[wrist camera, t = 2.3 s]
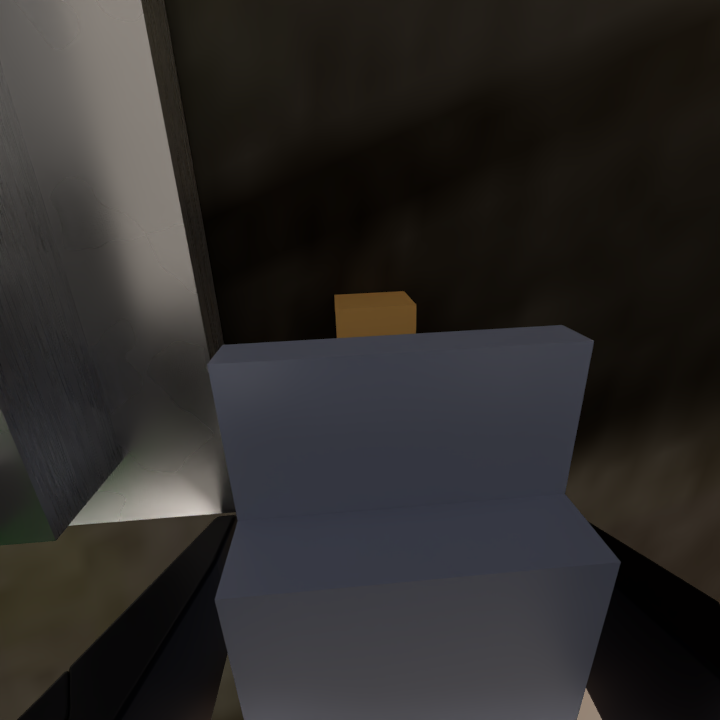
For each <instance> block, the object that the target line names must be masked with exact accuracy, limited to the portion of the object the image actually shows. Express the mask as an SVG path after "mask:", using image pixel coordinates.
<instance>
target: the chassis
mask: <svg viewBox="0 0 720 720" xmlns="http://www.w3.org/2000/svg"><path fill="white" fill-rule="evenodd" d="M222 345H224V341H223V335H222V329H221V323H220V318H219V312H218V306H217V300H216V295H215V289H214V283H213V277H212V272H211V266H210V260H209V254H208V249H207V243H206V237H205V231H204V226H203V220H202V214H201V208H200V203H199V197H198V191H197V185H196V180H195V174H194V168H193V162H192V157H191V151H190V145H189V139H188V134H187V128H186V122H185V117H184V111H183V105H182V99H181V94H180V88H179V82H178V76H177V71H176V65H175V59H174V53H173V48H172V42H171V36H170V30H169V25H168V19H167V13H166V7H165V2H164V0H0V545H9V544H21V543H33V542H45V541H56V540H57V539H58V537H59V536H60V535H61V534H62V533H63V531H64V530H65V529H66V528H67V527H68V526H70V525H82V524H94V523H107V522H119V521H131V520H143V519H156V518H168V517H180V516H193V515H205V514H217V513H229V512H236V509H235V504H234V499H233V494H232V489H231V484H230V479H229V474H228V469H227V464H226V458H225V453H224V448H223V443H222V438H221V433H220V428H219V423H218V418H217V412H216V407H215V402H214V397H213V392H212V387H211V382H210V377H209V372H208V366H207V364H208V363H209V362H210V360H211V359H212V358H213V356H214V355H215V354H216V353H217V351H218V350H219V349H220V347H221V346H222Z"/></svg>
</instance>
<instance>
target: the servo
mask: <svg viewBox="0 0 720 720" xmlns="http://www.w3.org/2000/svg"><path fill="white" fill-rule="evenodd" d="M334 298H335V316H336V332H337V338H332V339H315V340H298V341H281V342H264V343H247V344H230V345H222V346H221V347H220V349H219V350H218V351H217V353H216V354H215V355H214V356H213V358H212V359H211V360H210V362H209V363H208V364H207V366H208V372H209V377H210V382H211V387H212V392H213V397H214V402H215V407H216V412H217V418H218V423H219V428H220V433H221V438H222V443H223V448H224V453H225V458H226V464H227V469H228V474H229V479H230V484H231V489H232V494H233V499H234V504H235V509H236V515H237V520H238V522H237V525H236V529H235V532H234V535H233V539H232V542H231V546H230V549H229V552H228V556H227V559H226V563H225V566H224V569H223V573H222V576H221V580H220V583H219V586H218V590H217V593H216V597H215V604H216V608H217V612H218V616H219V620H220V624H221V628H222V632H223V636H224V640H225V644H226V648H227V652H228V656H229V660H230V664H231V668H232V672H233V676H234V681H235V685H236V689H237V693H238V697H239V701H240V705H241V709H242V713H243V717H244V720H577V717H578V713H579V710H580V706H581V702H582V699H583V695H584V692H585V688H586V685H587V681H588V678H589V674H590V671H591V667H592V663H593V660H594V656H595V653H596V649H597V646H598V642H599V638H600V635H601V631H602V628H603V624H604V620H605V617H606V613H607V610H608V606H609V603H610V599H611V595H612V592H613V588H614V585H615V581H616V578H617V574H618V570H619V567H620V563H621V561H620V560H619V559H618V558H617V557H616V555H615V554H614V553H613V552H612V551H611V549H610V548H609V547H608V546H607V544H606V543H605V542H604V541H603V540H602V538H601V537H600V536H599V535H598V534H597V532H596V531H595V530H594V529H593V527H592V526H591V525H590V524H589V523H588V521H587V520H586V519H585V518H584V517H583V515H582V514H581V513H580V512H579V510H578V509H577V508H576V507H575V506H574V504H573V503H572V502H571V501H570V500H569V498H568V497H567V496H566V495H565V490H566V485H567V480H568V474H569V469H570V464H571V459H572V454H573V448H574V443H575V438H576V433H577V427H578V422H579V417H580V412H581V407H582V401H583V396H584V391H585V386H586V381H587V375H588V370H589V365H590V360H591V355H592V349H593V344H594V341H593V340H591V339H589V338H587V337H585V336H583V335H581V334H579V333H577V332H575V331H573V330H571V329H569V328H567V327H565V326H563V325H554V326H537V327H520V328H503V329H485V330H468V331H451V332H434V333H417V334H416V304H415V303H414V302H413V301H412V299H411V298H410V297H409V296H408V295H407V294H406V293H405V292H404V291H397V292H378V293H359V294H340V295H334Z"/></svg>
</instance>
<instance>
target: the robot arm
mask: <svg viewBox="0 0 720 720" xmlns="http://www.w3.org/2000/svg"><path fill="white" fill-rule="evenodd" d="M237 522H238V520H237V516H235V515H229V516H220V517H217V518H216V519H215V520H214V521H213V522H212V523H211V524H210V525H209V526H208V527H207V528H206V529H205V530H204V531H203V532H202V533H201V534H200V535H199V536H198V537H197V538H196V539H195V540H194V541H193V542H192V543H191V544H190V545H189V546H188V547H187V548H186V549H185V550H184V551H183V552H182V553H181V554H180V555H179V556H178V557H177V558H176V559H175V560H174V561H173V562H172V563H171V564H170V565H169V566H168V567H167V568H166V569H165V570H164V572H163V573H162V574H161V575H160V576H159V577H158V578H157V579H156V580H155V581H154V582H153V583H152V584H151V585H150V586H149V587H148V588H147V589H146V590H145V591H144V592H143V593H142V594H141V595H140V596H139V597H138V598H137V599H136V600H135V601H134V602H133V603H132V604H131V605H130V606H129V607H128V608H127V609H126V610H125V611H124V612H123V613H122V614H121V615H120V616H119V617H118V618H117V619H116V620H115V621H114V622H113V623H112V625H111V626H110V627H109V628H108V629H107V630H106V631H105V632H104V633H103V634H102V635H101V636H100V637H99V638H98V639H97V640H96V641H95V642H94V643H93V644H92V645H91V646H90V647H89V648H88V649H87V650H86V651H85V652H84V653H83V654H82V655H81V656H80V657H79V658H78V659H77V660H76V661H75V662H74V663H73V664H72V665H71V666H70V669H69V671H66V672H64V673H63V674H62V675H61V676H60V677H59V678H58V679H57V680H56V681H55V682H54V683H53V684H52V685H51V686H50V687H49V688H48V689H47V691H46V692H45V693H44V694H43V695H42V696H41V697H40V698H39V699H38V700H37V701H35V702H34V703H33V704H32V705H31V706H30V707H29V708H28V709H27V710H26V711H25V712H24V713H23V714H22V715H21V716H20V717H19V718H18V719H17V720H211V718H212V714H213V710H214V706H215V702H216V698H217V694H218V690H219V686H220V681H221V677H222V673H223V669H224V665H225V661H226V657H227V653H228V652H227V648H226V644H225V640H224V636H223V632H222V628H221V624H220V620H219V616H218V612H217V608H216V604H215V597H216V593H217V590H218V586H219V583H220V580H221V576H222V573H223V569H224V566H225V563H226V559H227V556H228V552H229V549H230V546H231V542H232V539H233V535H234V532H235V529H236V525H237ZM588 523H589V524H590V525H591V526H592V527H593V529H594V530H595V531H596V532H597V534H598V535H599V536H600V537H601V538H602V540H603V541H604V542H605V543H606V544H607V546H608V547H609V548H610V549H611V551H612V552H613V553H614V554H615V555H616V557H617V558H618V559H619V560H620V561H621V563H620V567H619V570H618V574H617V578H616V581H615V585H614V588H613V592H612V595H611V599H610V603H609V606H608V610H607V613H606V617H605V620H604V624H603V628H602V631H601V635H600V638H599V642H598V646H597V649H596V653H595V656H594V660H593V663H592V667H591V671H590V674H589V678H588V681H587V685H586V688H587V691H588V693H589V694H590V696H591V699H592V700H593V702H594V704H595V706H596V708H597V710H598V712H599V714H600V716H601V718H602V720H720V604H719V602H718V601H716V600H715V599H713V598H711V597H710V596H708V595H706V594H705V593H703V592H702V591H700V590H698V589H697V588H695V587H693V586H692V585H690V584H689V583H687V582H685V581H684V580H682V579H681V578H679V577H677V576H676V575H674V574H672V573H671V572H669V571H668V570H666V569H664V568H663V567H661V566H659V565H658V564H656V563H655V562H653V561H651V560H650V559H648V558H646V557H645V556H643V555H642V554H640V553H638V552H637V551H635V550H633V549H632V548H630V547H629V546H627V545H625V544H624V543H622V542H620V541H619V540H617V539H616V538H614V537H612V536H611V535H609V534H607V533H606V532H604V531H603V530H601V529H599V528H598V527H596V526H595V525H593V524H591V523H590V522H588Z"/></svg>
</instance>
